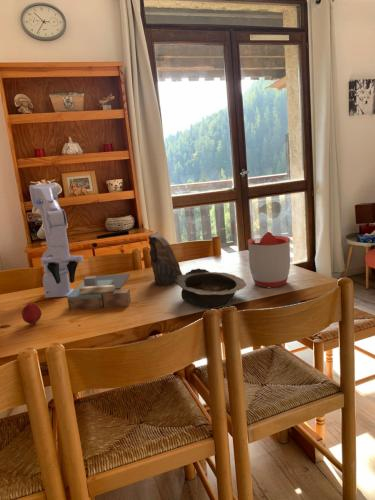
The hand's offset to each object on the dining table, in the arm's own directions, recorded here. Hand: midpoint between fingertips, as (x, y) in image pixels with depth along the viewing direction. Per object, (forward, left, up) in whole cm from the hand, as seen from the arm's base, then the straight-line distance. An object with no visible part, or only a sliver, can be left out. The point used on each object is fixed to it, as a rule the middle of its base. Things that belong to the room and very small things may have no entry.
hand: (65, 282), depth 139 cm
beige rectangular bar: (+11, 0, -4) cm, 12 cm away
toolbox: (+11, +6, -9) cm, 16 cm away
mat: (+7, +28, -9) cm, 30 cm away
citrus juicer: (+73, +15, -10) cm, 75 cm away
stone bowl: (+51, 0, -10) cm, 52 cm away
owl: (+33, +24, -10) cm, 42 cm away
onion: (-7, -14, -10) cm, 18 cm away
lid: (+7, +6, -5) cm, 11 cm away
